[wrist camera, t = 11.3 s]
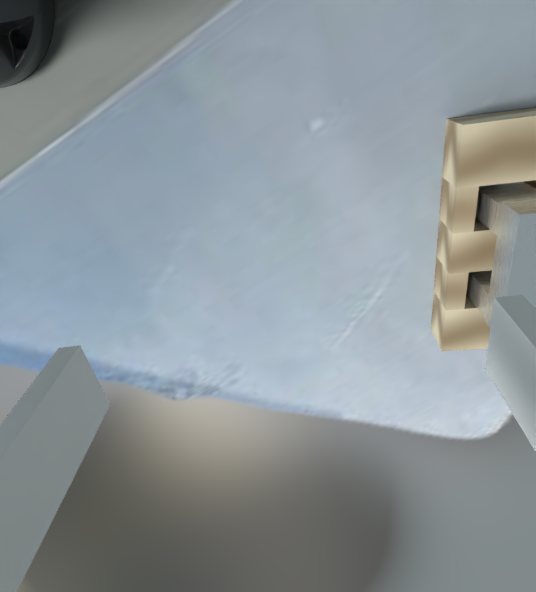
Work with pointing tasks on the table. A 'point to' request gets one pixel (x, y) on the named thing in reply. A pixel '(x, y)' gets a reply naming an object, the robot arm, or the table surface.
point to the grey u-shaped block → (506, 245)
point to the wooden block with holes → (474, 214)
